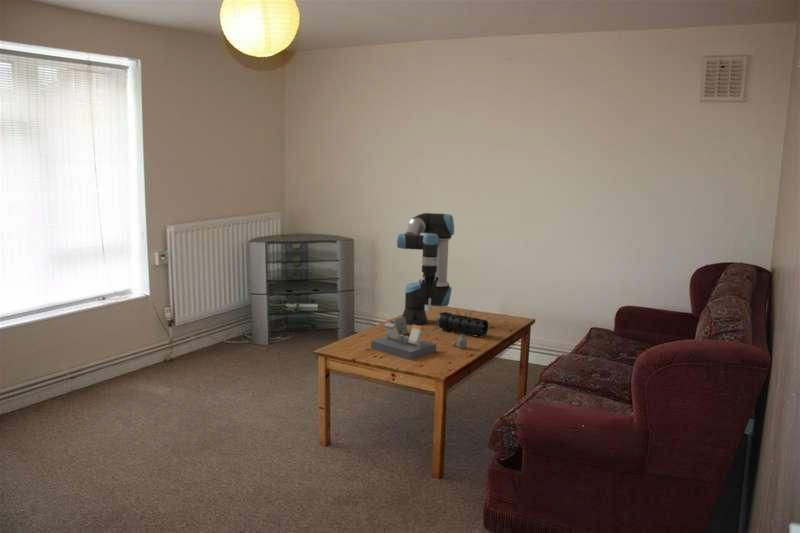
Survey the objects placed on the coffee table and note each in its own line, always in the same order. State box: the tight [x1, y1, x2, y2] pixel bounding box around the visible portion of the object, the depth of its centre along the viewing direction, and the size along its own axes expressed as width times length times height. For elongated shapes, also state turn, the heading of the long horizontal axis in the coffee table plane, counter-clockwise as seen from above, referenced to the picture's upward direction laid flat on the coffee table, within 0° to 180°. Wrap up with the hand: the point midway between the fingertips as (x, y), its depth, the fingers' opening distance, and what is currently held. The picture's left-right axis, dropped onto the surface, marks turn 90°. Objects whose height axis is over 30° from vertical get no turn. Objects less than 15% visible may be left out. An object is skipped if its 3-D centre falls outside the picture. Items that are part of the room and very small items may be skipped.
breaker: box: [383, 322, 399, 340], centre depth 337 cm, size 2×6×10 cm
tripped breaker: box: [407, 324, 424, 345], centre depth 333 cm, size 2×6×10 cm, turn 51°
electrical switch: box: [390, 316, 409, 335], centre depth 365 cm, size 9×5×9 cm, turn 141°
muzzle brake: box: [436, 311, 489, 338], centre depth 371 cm, size 10×28×10 cm, turn 58°
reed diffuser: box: [451, 311, 472, 349], centre depth 342 cm, size 10×7×20 cm
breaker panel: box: [370, 331, 437, 361], centre depth 336 cm, size 20×26×7 cm
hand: (427, 310), depth 338 cm, fingers closed
